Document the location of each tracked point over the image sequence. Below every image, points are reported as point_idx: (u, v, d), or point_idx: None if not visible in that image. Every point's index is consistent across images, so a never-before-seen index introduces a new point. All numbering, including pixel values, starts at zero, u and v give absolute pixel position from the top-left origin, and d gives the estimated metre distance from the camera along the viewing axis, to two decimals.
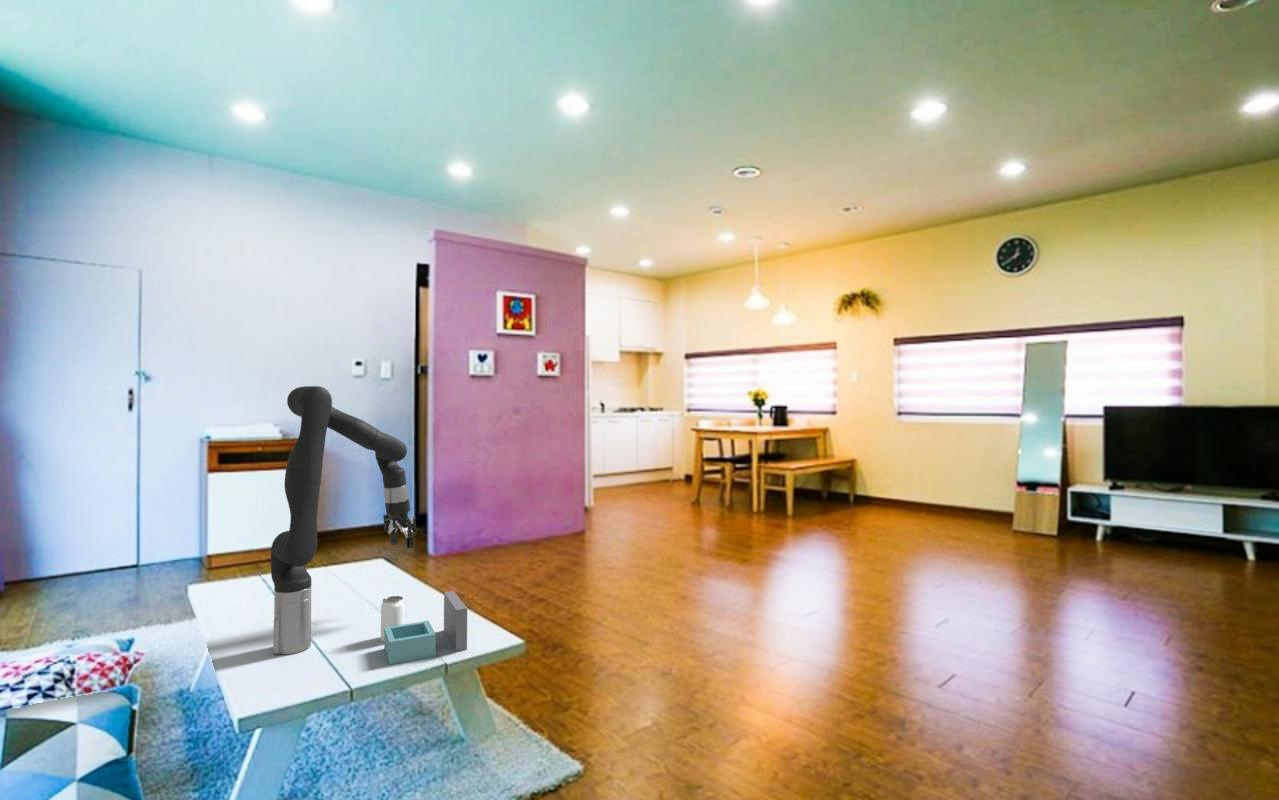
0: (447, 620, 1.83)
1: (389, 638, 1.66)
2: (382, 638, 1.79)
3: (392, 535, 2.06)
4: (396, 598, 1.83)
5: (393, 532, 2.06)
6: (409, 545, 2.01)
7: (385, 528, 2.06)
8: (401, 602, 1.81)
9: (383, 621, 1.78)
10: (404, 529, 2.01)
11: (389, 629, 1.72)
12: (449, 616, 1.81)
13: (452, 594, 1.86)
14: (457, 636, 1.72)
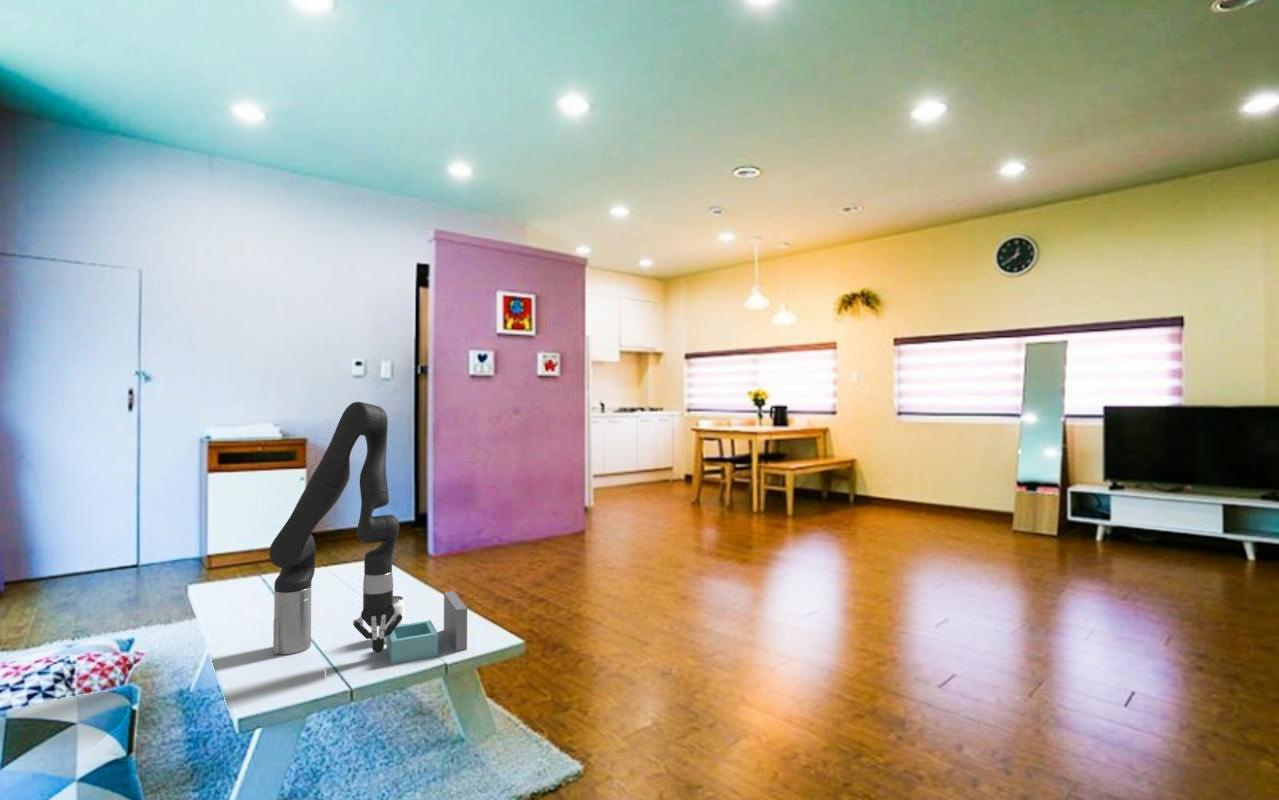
0: (447, 620, 1.83)
1: (391, 638, 1.66)
2: None
3: None
4: (396, 598, 1.83)
5: None
6: None
7: None
8: (401, 602, 1.81)
9: None
10: (371, 627, 1.67)
11: None
12: (449, 616, 1.81)
13: (452, 594, 1.86)
14: (457, 636, 1.72)
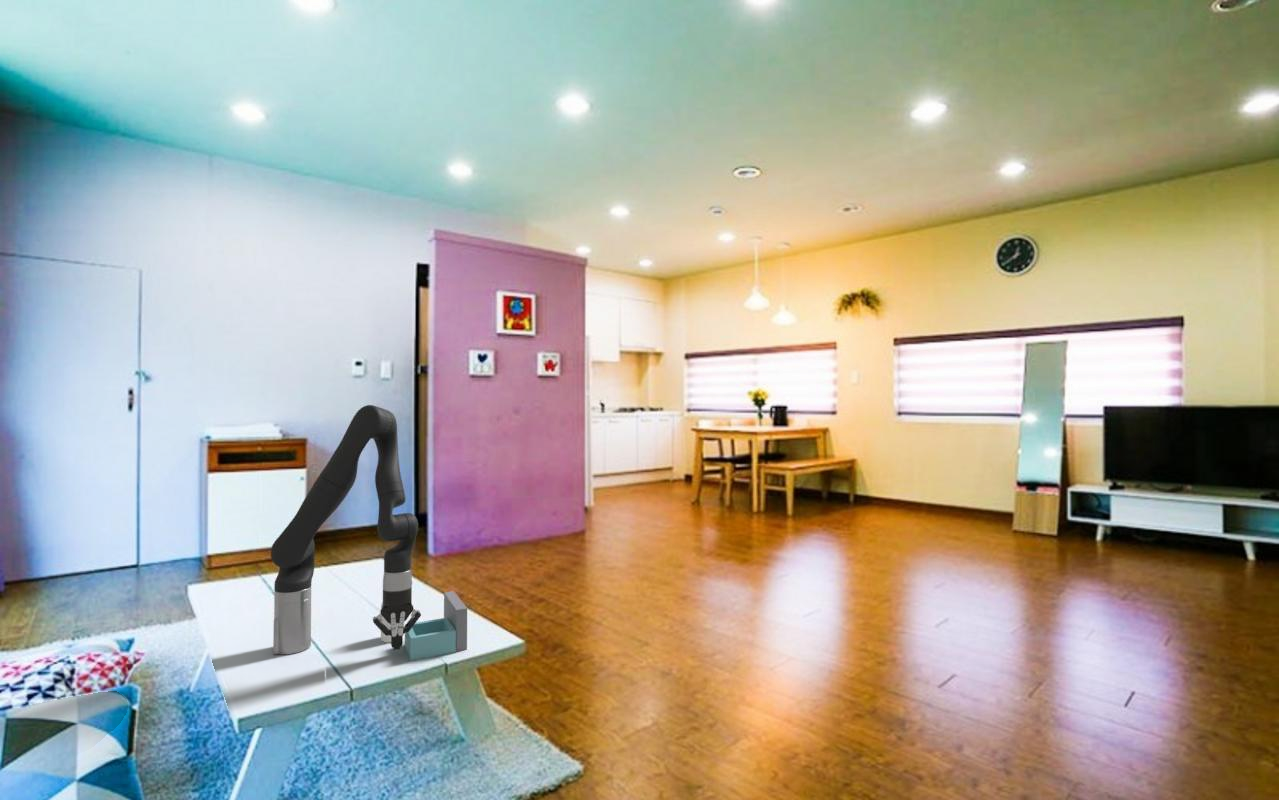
0: None
1: (410, 634, 1.68)
2: (382, 638, 1.79)
3: None
4: None
5: (397, 633, 1.70)
6: None
7: None
8: None
9: (383, 621, 1.79)
10: (390, 624, 1.70)
11: None
12: (449, 616, 1.81)
13: (452, 594, 1.86)
14: (457, 636, 1.72)
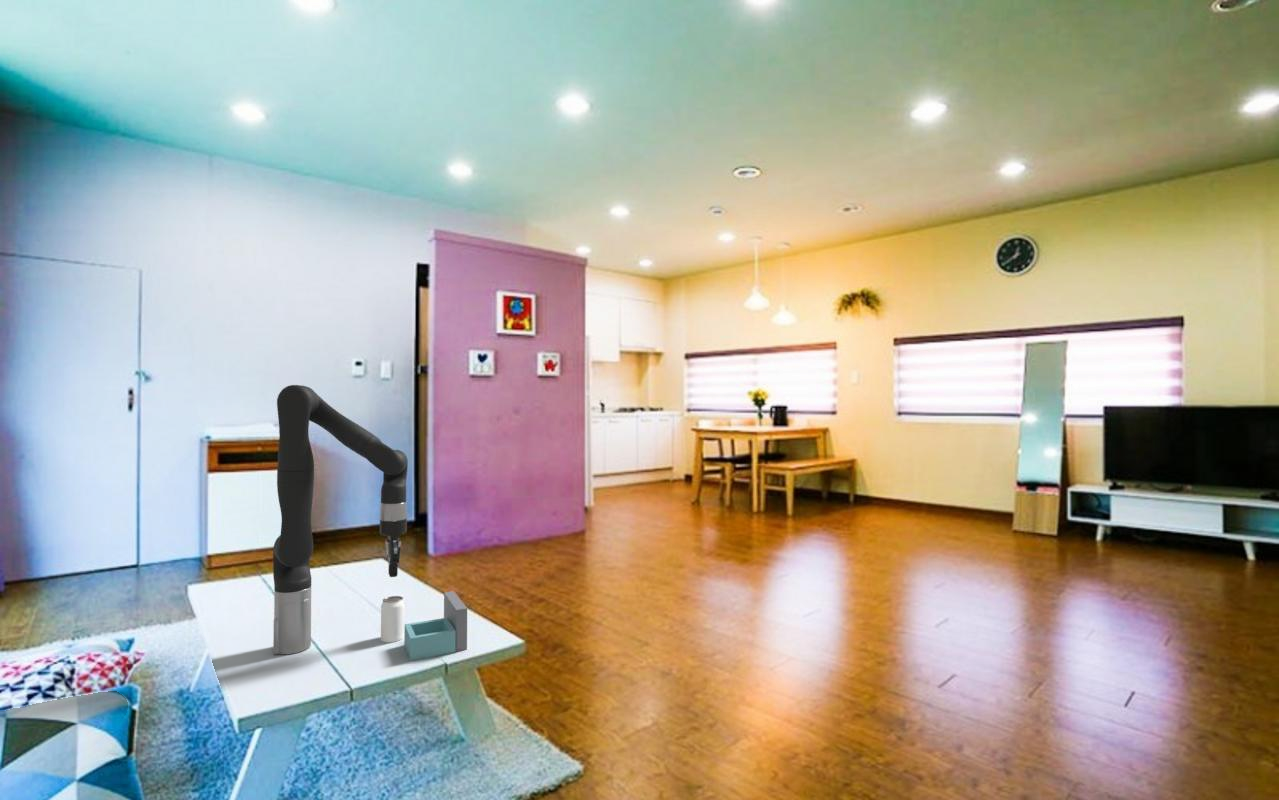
0: None
1: (410, 634, 1.68)
2: (382, 638, 1.79)
3: None
4: (396, 598, 1.83)
5: None
6: (391, 573, 1.79)
7: None
8: (401, 602, 1.81)
9: (383, 621, 1.78)
10: (389, 555, 1.79)
11: (409, 626, 1.75)
12: (449, 616, 1.81)
13: (452, 594, 1.86)
14: (457, 636, 1.72)
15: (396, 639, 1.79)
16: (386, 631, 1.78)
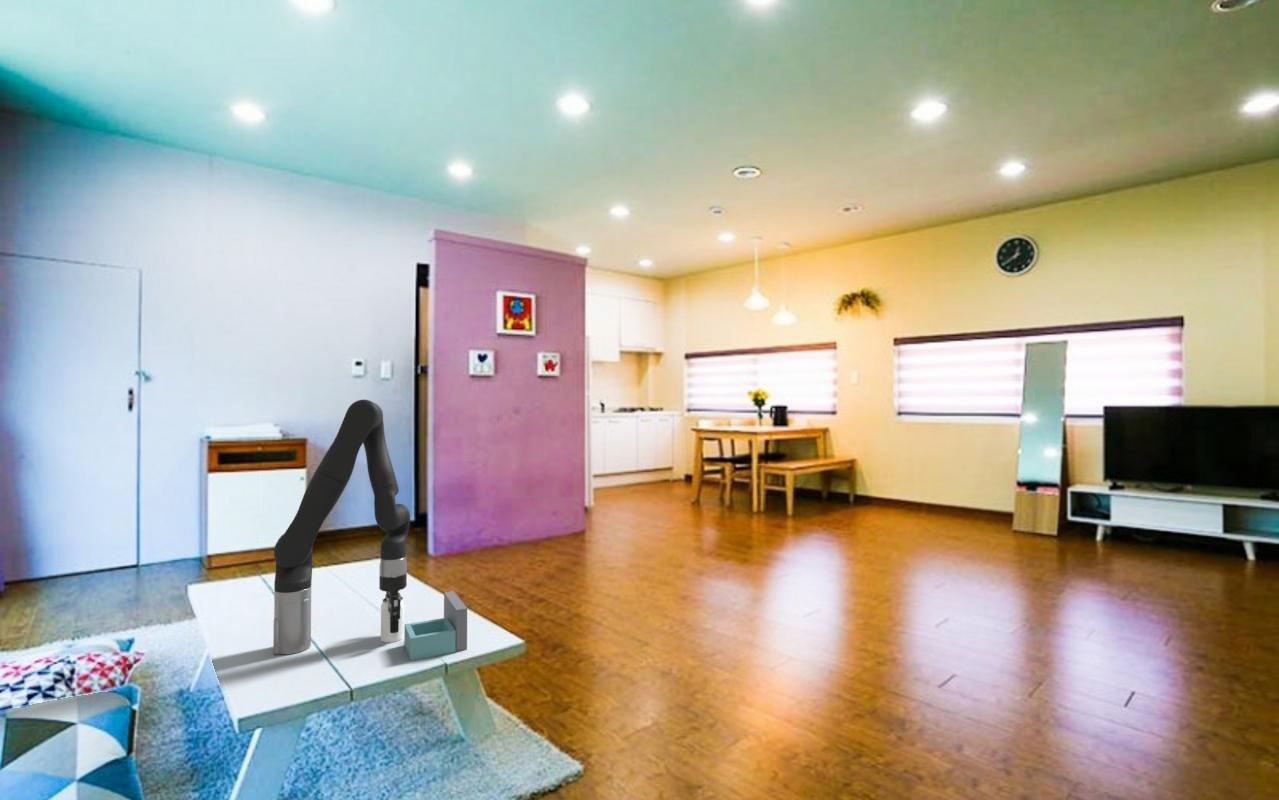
0: None
1: (410, 634, 1.68)
2: (382, 638, 1.79)
3: None
4: None
5: None
6: (392, 629, 1.77)
7: None
8: (401, 602, 1.81)
9: (383, 621, 1.79)
10: (390, 610, 1.78)
11: (409, 626, 1.75)
12: (449, 616, 1.81)
13: (452, 594, 1.86)
14: (457, 636, 1.72)
15: (396, 639, 1.79)
16: (386, 631, 1.78)
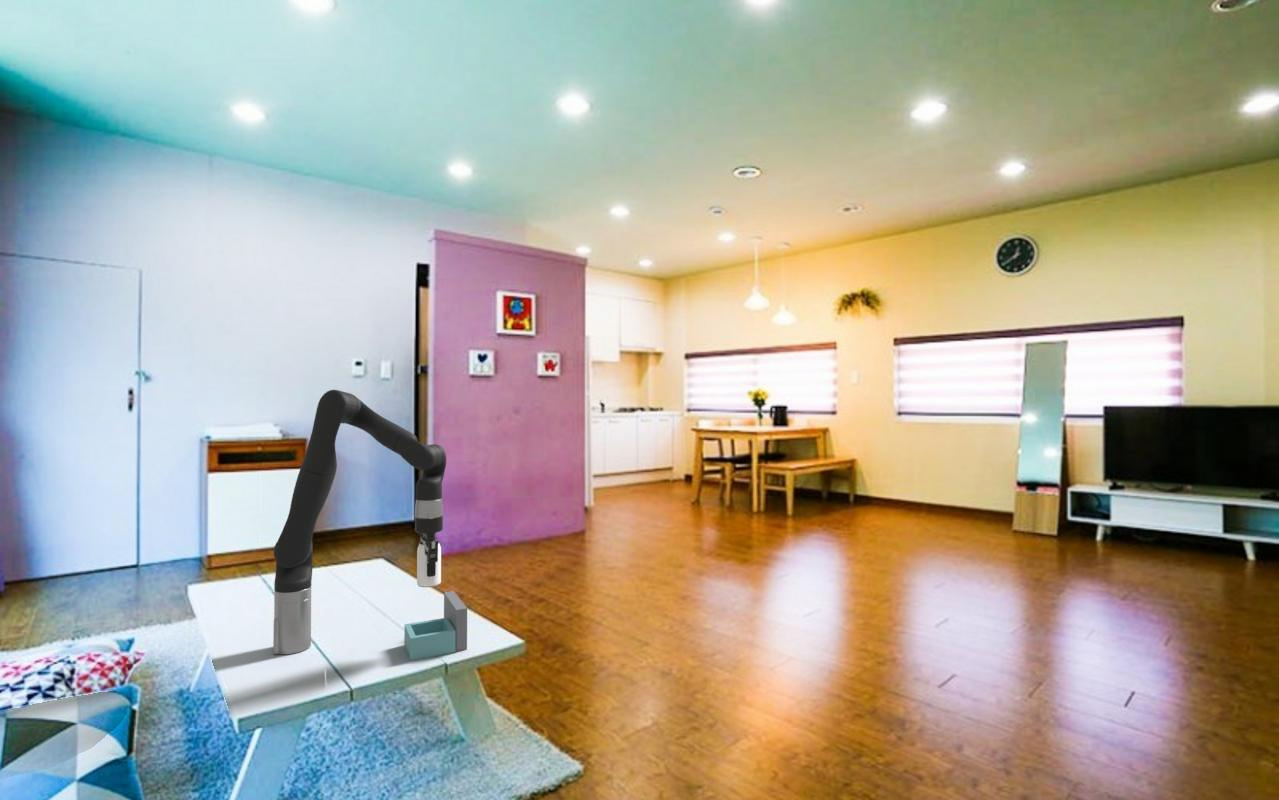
0: None
1: (410, 634, 1.68)
2: (419, 582, 1.72)
3: None
4: None
5: None
6: (429, 573, 1.70)
7: None
8: (438, 545, 1.74)
9: (420, 564, 1.71)
10: (427, 553, 1.71)
11: (409, 626, 1.75)
12: (449, 616, 1.81)
13: (452, 594, 1.86)
14: (457, 636, 1.72)
15: (433, 583, 1.72)
16: (423, 574, 1.71)
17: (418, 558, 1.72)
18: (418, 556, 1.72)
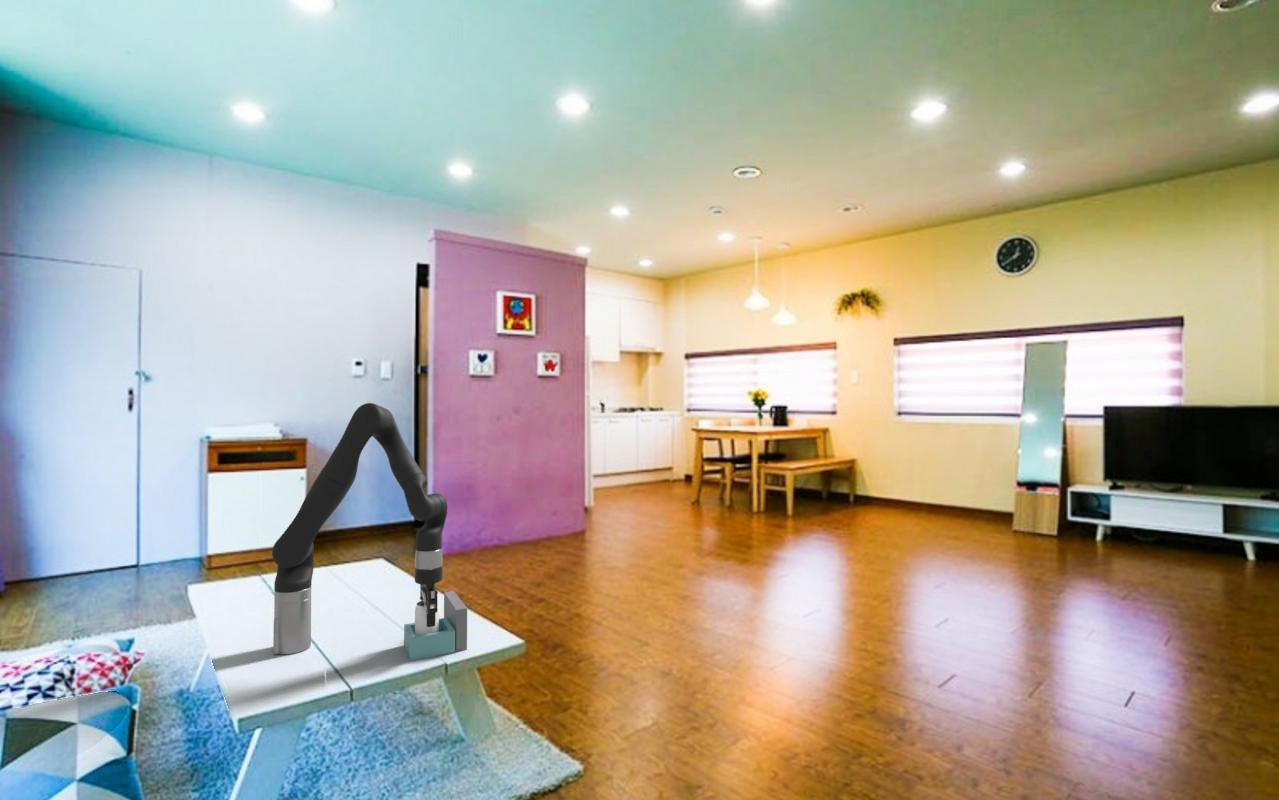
0: None
1: (410, 635, 1.68)
2: None
3: None
4: None
5: None
6: (428, 623, 1.69)
7: None
8: None
9: (418, 626, 1.71)
10: (426, 603, 1.70)
11: (409, 626, 1.75)
12: (449, 616, 1.81)
13: (452, 594, 1.86)
14: (457, 636, 1.72)
15: None
16: None
17: (416, 619, 1.72)
18: (416, 617, 1.72)
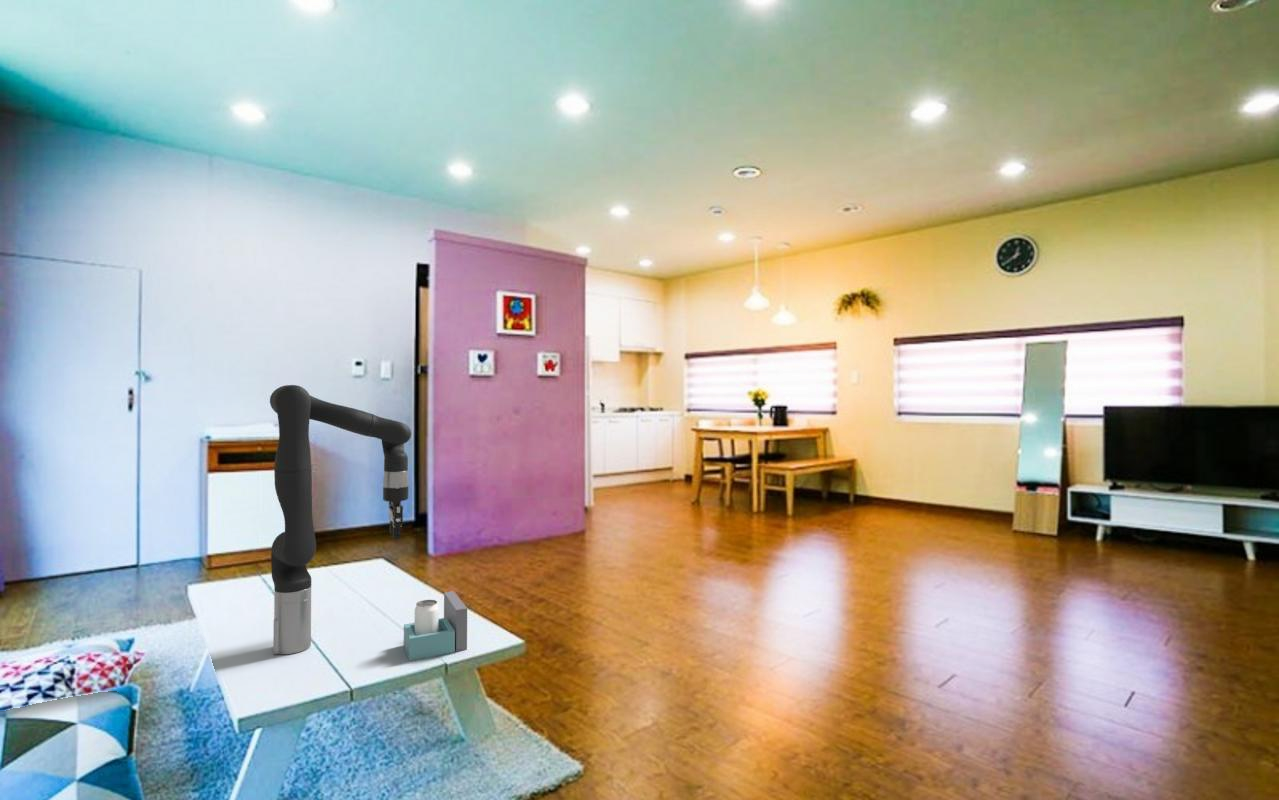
0: None
1: (409, 635, 1.68)
2: None
3: (392, 523, 1.96)
4: (430, 602, 1.76)
5: None
6: (395, 536, 1.88)
7: None
8: (435, 606, 1.74)
9: (418, 626, 1.71)
10: (393, 518, 1.89)
11: (409, 626, 1.75)
12: (449, 616, 1.81)
13: (452, 594, 1.86)
14: (457, 636, 1.72)
15: None
16: None
17: (415, 619, 1.72)
18: (415, 617, 1.72)
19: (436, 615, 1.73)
